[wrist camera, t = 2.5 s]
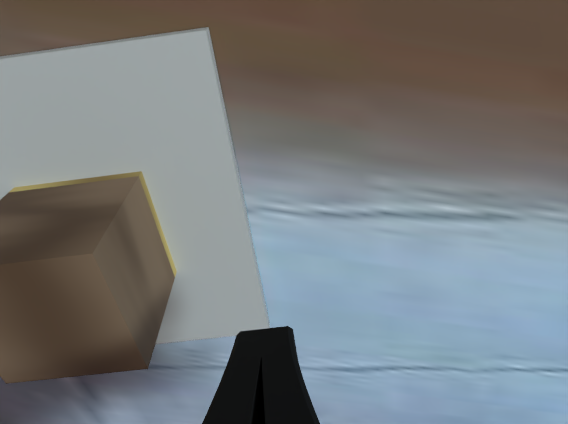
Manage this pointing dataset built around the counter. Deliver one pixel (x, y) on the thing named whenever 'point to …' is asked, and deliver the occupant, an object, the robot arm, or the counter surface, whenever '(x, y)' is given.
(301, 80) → the counter surface
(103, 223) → the flip block
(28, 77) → the mat
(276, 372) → the robot arm
